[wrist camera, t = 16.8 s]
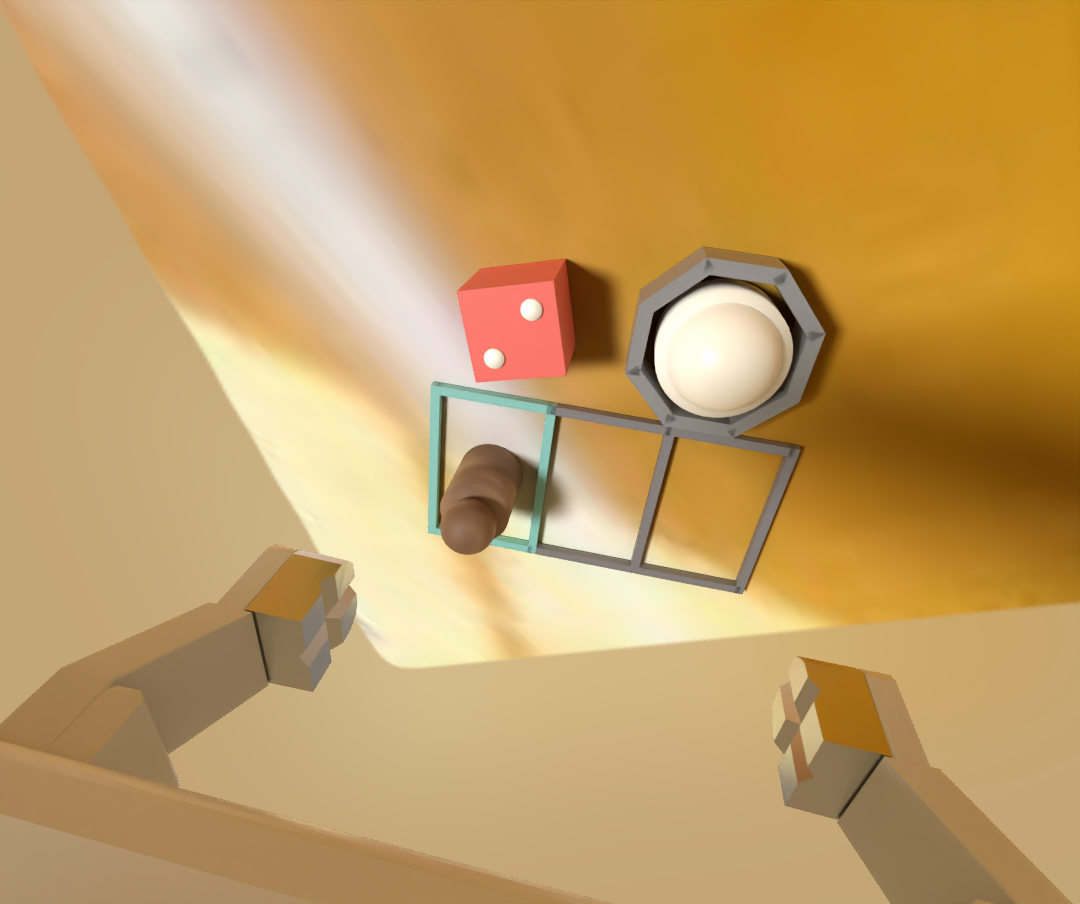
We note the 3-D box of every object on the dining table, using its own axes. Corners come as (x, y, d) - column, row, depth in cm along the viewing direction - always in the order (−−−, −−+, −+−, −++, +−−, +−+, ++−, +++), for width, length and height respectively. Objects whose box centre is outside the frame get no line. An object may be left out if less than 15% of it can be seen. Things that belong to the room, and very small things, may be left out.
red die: (565, 258, 33) (553, 281, 29) (575, 343, 35) (565, 376, 31) (480, 268, 34) (455, 292, 30) (496, 350, 36) (475, 383, 32)
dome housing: (831, 265, 31) (846, 278, 29) (773, 424, 36) (782, 446, 34) (650, 238, 32) (650, 248, 29) (618, 397, 37) (616, 417, 34)
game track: (798, 445, 36) (800, 450, 36) (741, 588, 43) (742, 594, 42) (433, 381, 38) (430, 385, 38) (430, 528, 44) (427, 533, 44)
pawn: (525, 450, 40) (500, 521, 33) (519, 502, 42) (494, 578, 35) (462, 439, 40) (424, 506, 33) (459, 491, 42) (424, 564, 35)
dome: (797, 286, 32) (826, 319, 27) (758, 401, 35) (777, 450, 30) (669, 266, 32) (673, 295, 27) (643, 382, 36) (642, 427, 31)
